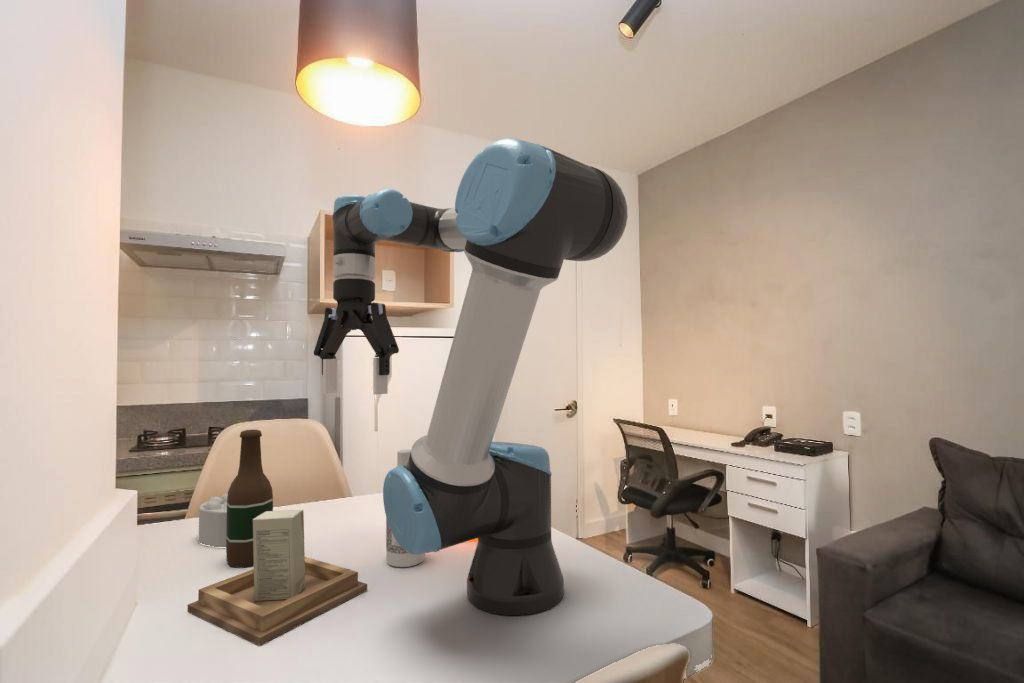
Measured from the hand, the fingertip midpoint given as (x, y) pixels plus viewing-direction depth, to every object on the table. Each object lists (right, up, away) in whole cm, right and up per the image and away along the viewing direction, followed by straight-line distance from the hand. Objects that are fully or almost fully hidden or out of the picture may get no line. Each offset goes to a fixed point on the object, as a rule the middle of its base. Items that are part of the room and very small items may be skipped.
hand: (354, 393), depth 92 cm
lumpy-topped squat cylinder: (-31, -32, +13) cm, 46 cm away
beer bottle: (-20, -31, 0) cm, 37 cm away
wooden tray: (-6, -30, -16) cm, 35 cm away
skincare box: (-6, -29, -16) cm, 34 cm away
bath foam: (+10, -31, -1) cm, 32 cm away
